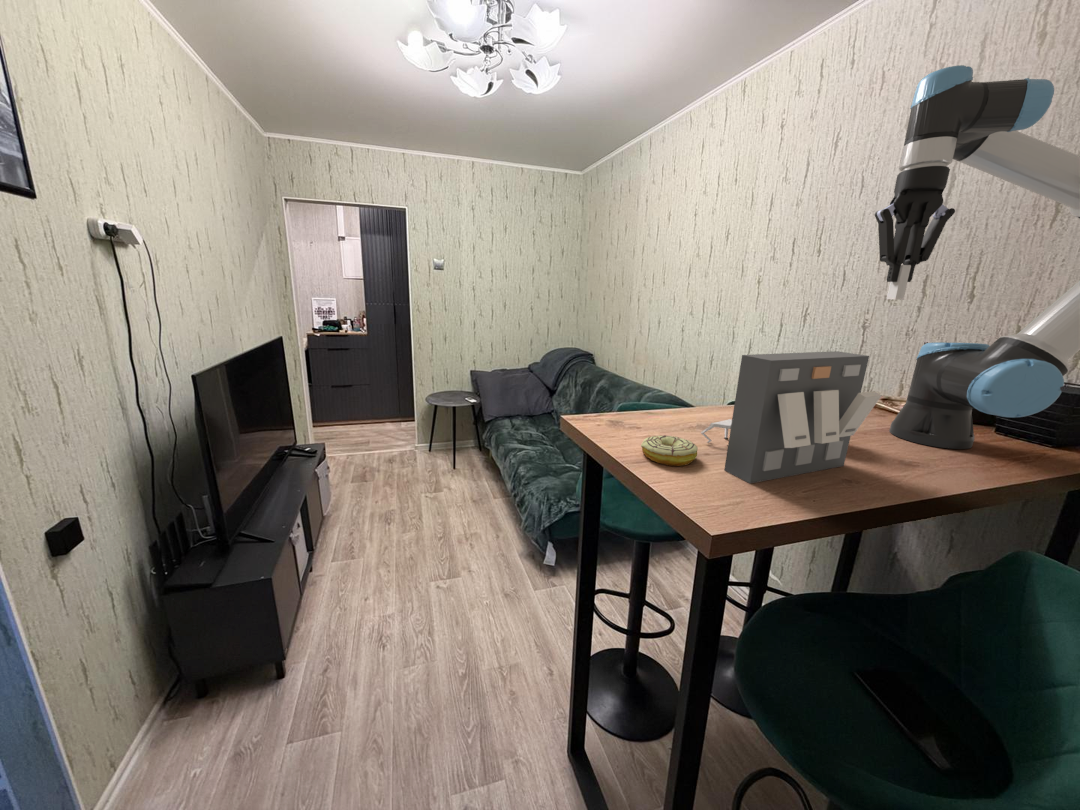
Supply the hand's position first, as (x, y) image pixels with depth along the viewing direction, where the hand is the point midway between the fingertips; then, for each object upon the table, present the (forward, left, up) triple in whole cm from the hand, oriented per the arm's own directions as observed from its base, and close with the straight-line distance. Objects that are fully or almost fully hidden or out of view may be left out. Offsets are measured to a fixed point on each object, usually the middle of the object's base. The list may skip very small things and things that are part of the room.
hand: (894, 299), depth 87 cm
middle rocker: (+18, +21, -25) cm, 36 cm away
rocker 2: (+12, +14, -25) cm, 31 cm away
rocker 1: (+24, +25, -24) cm, 42 cm away
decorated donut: (+43, +14, -33) cm, 56 cm away
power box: (+21, +15, -32) cm, 41 cm away
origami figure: (+29, +2, -33) cm, 43 cm away
